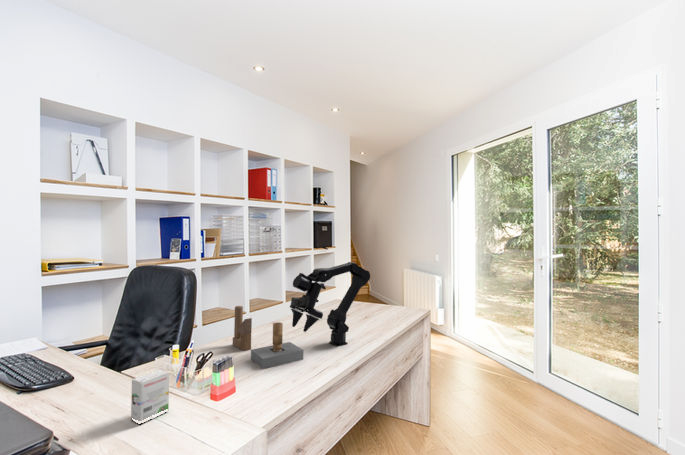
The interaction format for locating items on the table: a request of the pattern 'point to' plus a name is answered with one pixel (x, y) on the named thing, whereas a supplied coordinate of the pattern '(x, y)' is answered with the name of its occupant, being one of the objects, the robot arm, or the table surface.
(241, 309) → the wooden block
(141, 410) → the ink box
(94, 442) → the table surface
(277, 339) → the teak leg
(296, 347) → the seat board
